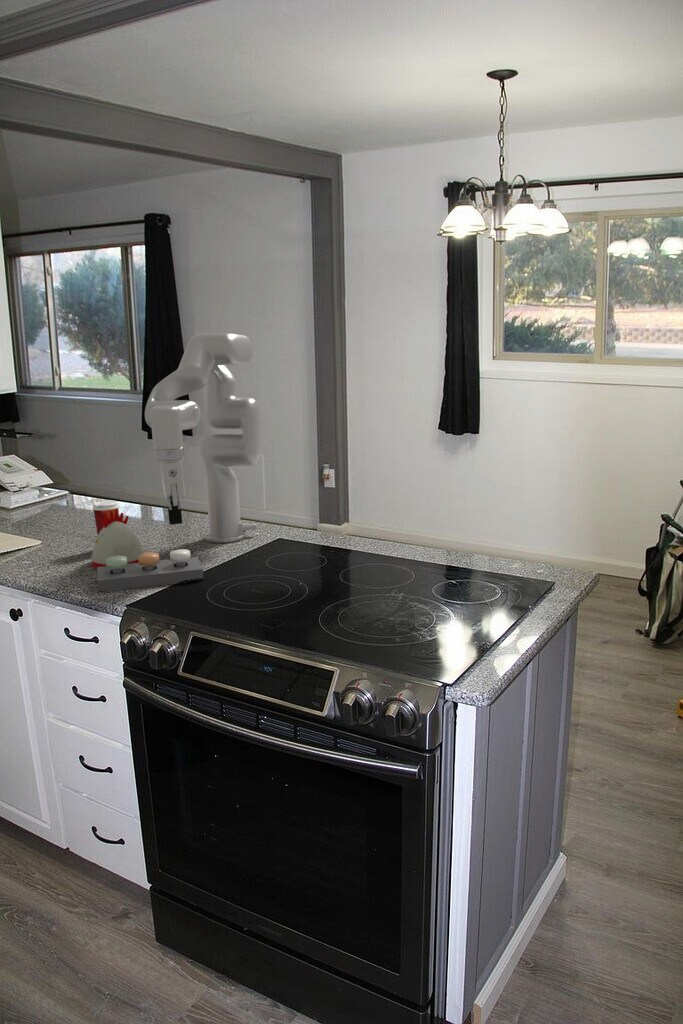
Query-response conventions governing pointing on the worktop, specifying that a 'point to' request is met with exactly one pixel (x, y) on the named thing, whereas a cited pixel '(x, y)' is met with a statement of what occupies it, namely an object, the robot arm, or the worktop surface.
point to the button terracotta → (148, 560)
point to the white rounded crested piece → (115, 541)
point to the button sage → (116, 563)
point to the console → (148, 575)
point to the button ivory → (180, 557)
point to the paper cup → (104, 507)
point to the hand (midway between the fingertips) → (175, 523)
